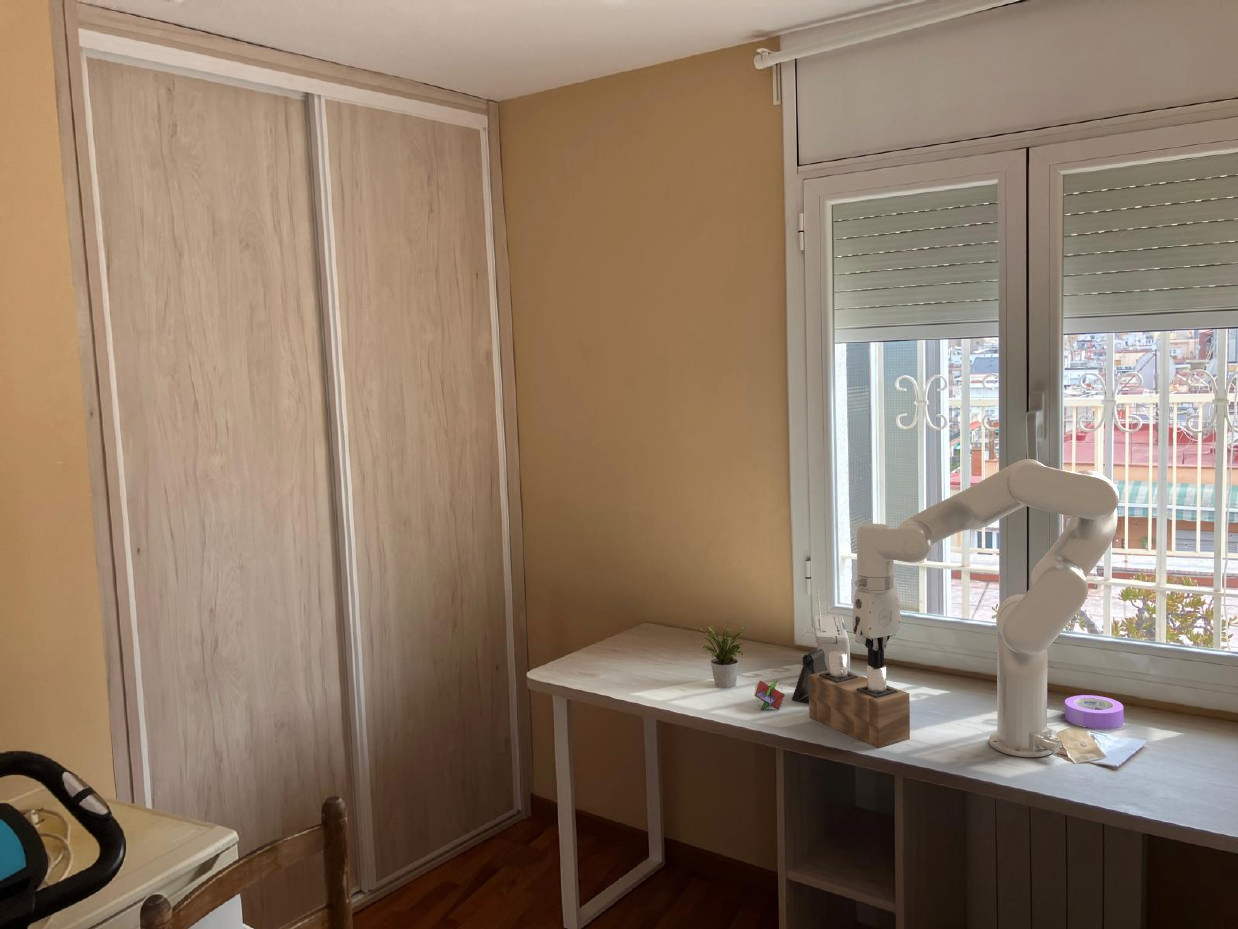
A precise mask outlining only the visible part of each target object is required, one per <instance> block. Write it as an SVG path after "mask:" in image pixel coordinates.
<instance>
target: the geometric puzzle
mask: <svg viewBox="0 0 1238 929" xmlns="http://www.w3.org/2000/svg"><path fill="white" fill-rule="evenodd" d="M777 683H778V685H779V688H780V690H782V687H781V685H780V684H781V683H780V682H779V680H775V681H774V682H773V683H771V684H769V683H768V684H767V683H766V682H764V681H763V680H759V681H758V682H757V683H756V685H755V686H754V697H755V700H757V704H758V706H759V708H760V711H763V710H765V709H766V708H767V707H769V706H771V707H772V708H774V709H775V710H777V711H780V708H781V706H782V703H783V700H784V697H785V693H784V692H782V691H780V690H778V689H776V687H777ZM758 699H759V700H760V701H763V703H762V706H760V704H759V701H758Z"/></svg>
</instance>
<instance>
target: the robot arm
mask: <svg viewBox="0 0 1238 929" xmlns="http://www.w3.org/2000/svg"><path fill="white" fill-rule="evenodd" d="M1119 502H1120V494H1119V490H1118V488H1117V486H1116V485H1115V484H1114V483H1113V482H1112V481H1111V480H1110V479H1109V478H1107V477H1106V476H1105V475H1103V474H1102V473H1101V472H1098V471H1096V470H1095V471H1094V470H1091V469H1084V470H1079V471H1077V472H1073V471H1070V470H1063V469H1059V468H1055V467H1052V466H1046V465H1044V464H1043V463H1042V462H1040V461H1038V460H1036V459H1032V458H1024V459H1021V460H1018V461H1016V462H1013V463H1012V464H1010V465H1008V466H1006V467H1004V468H1002V469H1001V470H999V471H997V472H995V473H994V474H992V475H990V476H988V477H986V478H985V479H983V480H981V481H979V482H977V483H975V484H973V485H971V486H969V487H967V488H966V489H963V490H962V491H960V492H958V493H955V494H953V495H952V496H950V497H948V498H946V499H944V500H941V501H940V502H937V503H935V504H933V505H930V507H928V508H925V509H924V510H922V511H920V512H918V513H916V514H914V515H913V516H911V517H909V518H907V519H905V520H904V521H902V522H901V523H900V524H899V525H898V527H897V528H892V527H891V526H890V525H887V524H884V523H866V524H861V525H859V527H858V528H857V530H856V580H855V581H854V585H855V587H856V589H855V590H854V591H855V592H854V597H853V605H852V631H853V634H854V635H855V638H854V643H855V642H856V643H858V644H863V645H864V648H867V666H868V665H869V666H872V667H874V668H877V669H878V668H880V667H881V668H882V667H884V666H885V649H887V644H888V642H889V640H890V639H892V638H893V637H895V636H896V635H897V634H898V633H900V631H901V628H902V627H901V626H902V624H901V622H902V620H901V606H900V605H901V604H900V598H899V594H898V590H897V587H895V586H894V583H895V582H894V581H895V580H894V577H895V576H894V570H895V568H894V561H898V562H902V563H910V564H915V563H920V562H922V561H924V560H925V559H927V558H928V557H929V555H930V553H931V550H932V546H933V545H936V544H937V543H939V542H941V541H943V540H945V539H948V538H949V537H951V536H953V535H955V534H957V533H960V532H964V531H969V530H970V531H971V530H979V529H982V528H983V529H984V528H986V527H988V526H990V525H992V524H993V523H996V522H997V521H999V520H1001V519H1003V518H1005V517H1007V516H1009V515H1010V514H1012V513H1013V512H1016V511H1018V510H1020V509H1022V508H1024V507H1030V508H1033V509H1036V510H1041V511H1045V512H1049V513H1054V514H1060V515H1063V516H1064V515H1065V516H1069V517H1070V518H1069V522H1068V523H1067V525H1066V527H1065V529H1064V530H1063V531H1062V533H1061V534H1060V535H1059V537H1058V538H1057V540H1056V541H1055V542H1054V544H1052V546H1051V547H1050V548H1049V549H1048V551H1047V552H1046V553H1045V554H1044V555H1043V557H1042V558H1041V559H1040V560H1039V561H1038V562H1037V563H1036V564H1035V566H1034V568H1033V569H1032V572H1031V577H1030V580H1031V586H1030V587H1029V589H1028V590H1027V591H1026V592H1025V594H1014V595H1011V596H1009V597H1007V598H1005V600H1003V601H1002V602H1001V603H1000V605H999V607H998V609H997V611H996V612H997V613H996V617H995V618H996V621H995V625H996V626H995V627H996V649H997V651H996V652H997V654H996V656H997V657H996V658H997V661H996V662H997V670H996V671H997V672H996V674H997V678H996V679H997V680H996V682H997V683H996V684H997V686H996V688H997V690H996V691H997V692H996V693H997V694H996V697H997V698H996V699H997V701H996V704H997V705H996V706H997V707H996V708H997V710H996V713H997V714H996V716H997V718H996V720H997V722H996V726H997V727H996V729H997V731H995V732H992V733H991V735H989V738H988V739H989V741H988V742H989V745H990V747H992V748H993V749H995V750H996V751H998V752H1000V753H1003V754H1006V755H1009V756H1015V757H1021V758H1041V757H1046V756H1049V755H1051V754H1052V753H1054V754H1057V753H1059V752H1060V750H1061V747H1062V745H1063V741H1062V740H1061V739H1058V738H1055V737H1053V736H1052V734H1053V733H1052V728H1050V727H1048V648H1049V647H1050V646H1051V644H1052V643H1053V642H1054V641H1055V640H1056V639H1057V638H1058V636H1059V635H1060V634H1061V633H1062V632H1063V631H1064V629H1065V628H1066V627H1067V626H1068V625H1069V623H1070V622H1071V621H1072V620H1073V619H1074V617H1075V616H1076V615H1077V614H1078V612H1079V611H1080V610H1081V608H1082V607H1083V606H1084V604H1085V602H1086V599H1087V596H1088V593H1089V584H1088V579H1087V577H1088V576H1089V574H1090V573H1091V572H1092V570H1093V569H1094V568H1095V566H1097V564H1098V563H1099V562H1100V560H1101V559H1102V557H1103V556H1104V555H1105V553H1106V552H1107V550H1108V549H1109V547H1110V546H1111V544H1112V542H1113V539H1114V537H1115V536H1116V535H1115V534H1116V532H1117V531H1116V530H1117V526H1118V505H1119V504H1120V503H1119Z"/></svg>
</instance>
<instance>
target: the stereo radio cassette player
mask: <svg viewBox="0 0 1238 929" xmlns="http://www.w3.org/2000/svg"><path fill="white" fill-rule="evenodd" d="M817 599H818V600H817V601H818V602H817V604H818V615H814V616H813V618H812V622H813V628H814V636H815V642H816V648H818V650H820V649H822V650H823V651H824V653H825V664H826V666H827V669H828V670H829V653H830V652H832V651H843V652H846V653H847V670H848V671H849V672H851V654H850V653H851V651H850V650H851V649H850V641H849V635H848V632H847V627H846V625H845V621H844V617H843V616H841V615H822V614H821V613H822V612H821V603H820V602H821V601H820V591H819V590H818V591H817ZM818 650H816V651H818Z"/></svg>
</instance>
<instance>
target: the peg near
mask: <svg viewBox="0 0 1238 929" xmlns="http://www.w3.org/2000/svg"><path fill="white" fill-rule="evenodd" d="M866 678H867V691H869V692H871V693H874V694H876V695H877V694H881V693H884V692H887V690H886V685H887V666H886V665H884V667H882V668H881V667H880V668H878V669H877V668H874V667H872V666H869V665H868V664H867V666H866Z"/></svg>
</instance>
